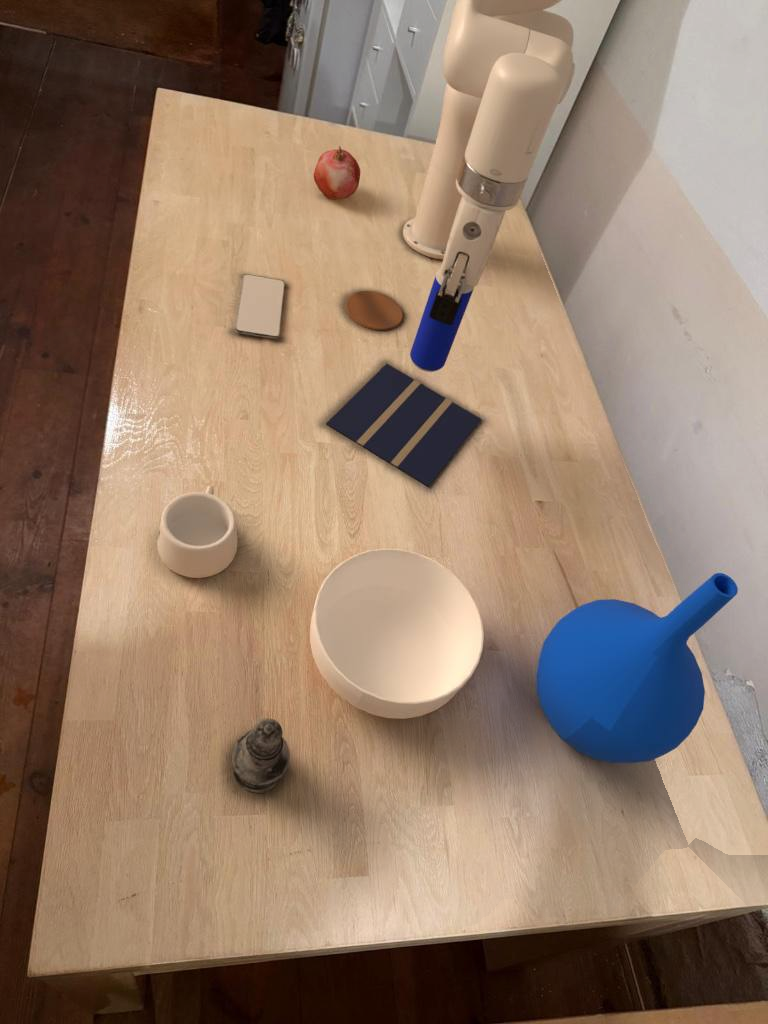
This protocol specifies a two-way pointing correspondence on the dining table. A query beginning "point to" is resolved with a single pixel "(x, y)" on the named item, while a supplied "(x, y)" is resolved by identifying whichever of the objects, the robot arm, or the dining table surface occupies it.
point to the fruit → (337, 174)
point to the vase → (627, 675)
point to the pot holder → (405, 424)
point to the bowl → (395, 633)
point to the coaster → (374, 310)
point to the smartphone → (260, 306)
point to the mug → (197, 534)
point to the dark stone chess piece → (260, 757)
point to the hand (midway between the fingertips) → (446, 306)
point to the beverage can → (437, 330)
